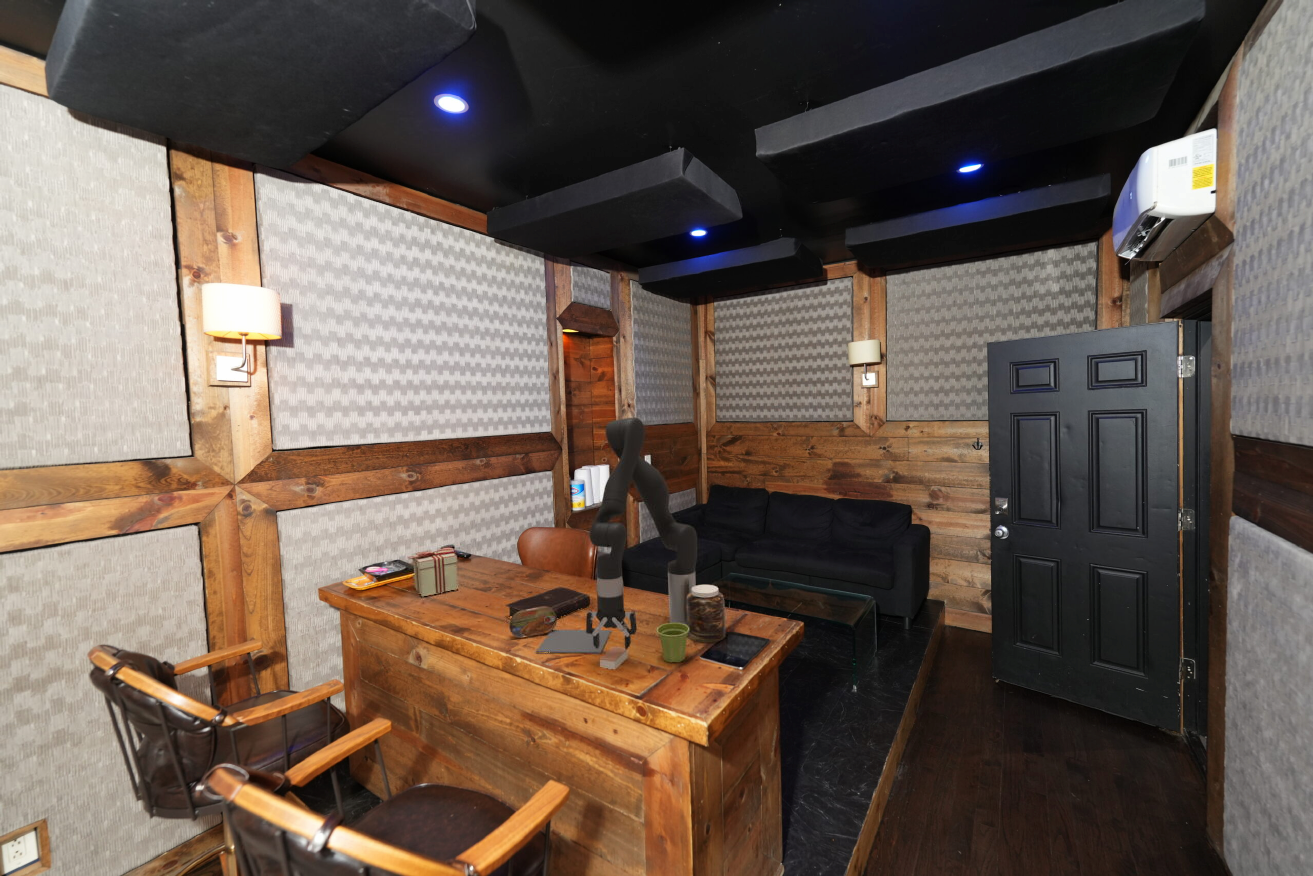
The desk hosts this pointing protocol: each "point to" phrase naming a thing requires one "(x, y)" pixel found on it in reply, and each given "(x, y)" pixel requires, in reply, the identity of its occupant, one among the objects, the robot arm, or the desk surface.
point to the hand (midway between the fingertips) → (612, 647)
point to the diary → (553, 601)
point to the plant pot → (673, 641)
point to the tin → (533, 622)
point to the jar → (706, 614)
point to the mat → (573, 642)
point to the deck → (613, 657)
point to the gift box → (435, 571)
